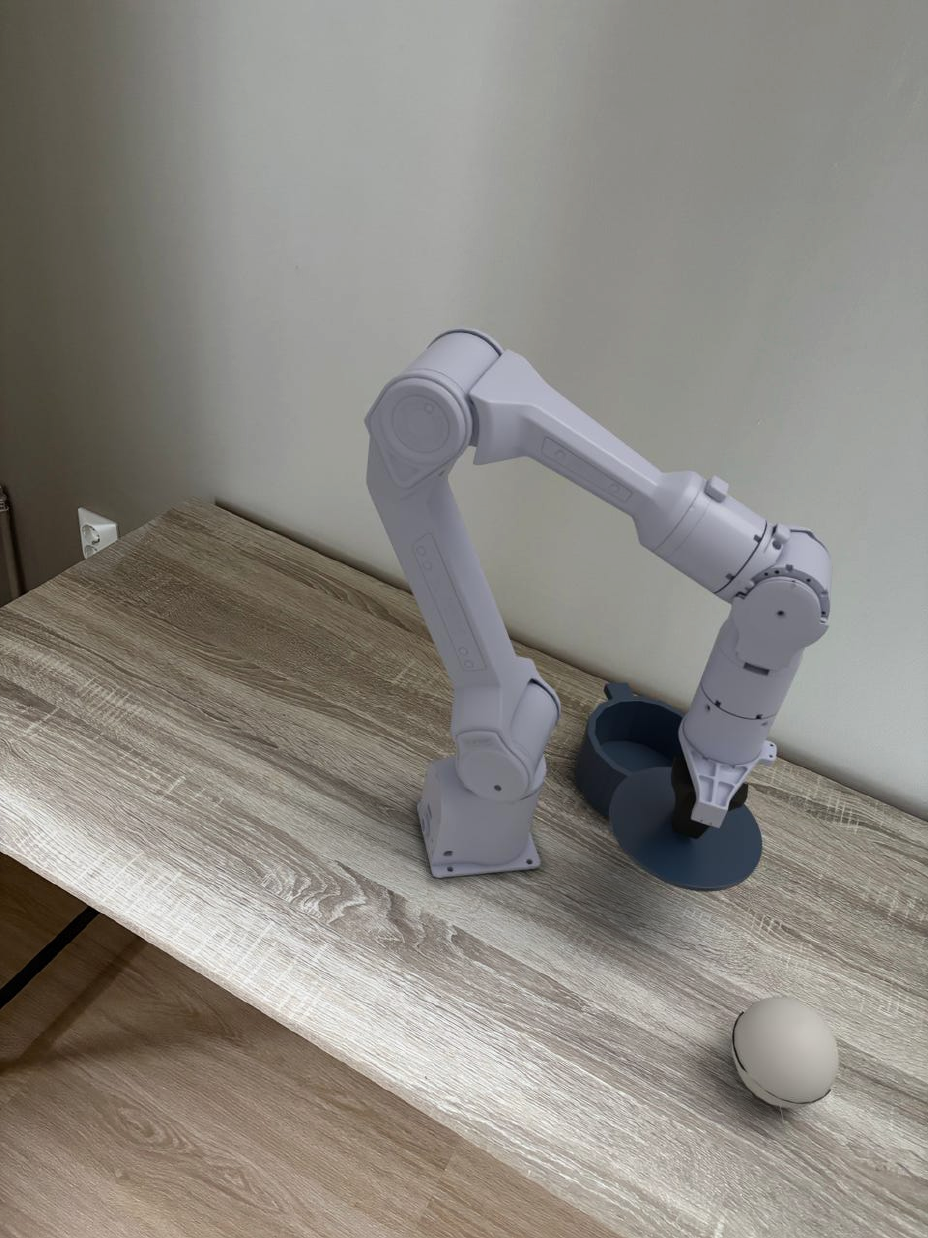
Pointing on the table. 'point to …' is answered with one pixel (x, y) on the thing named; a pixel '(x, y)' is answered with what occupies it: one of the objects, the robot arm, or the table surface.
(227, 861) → the table surface
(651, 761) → the pot
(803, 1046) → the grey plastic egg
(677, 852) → the lid
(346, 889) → the table surface
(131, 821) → the table surface
